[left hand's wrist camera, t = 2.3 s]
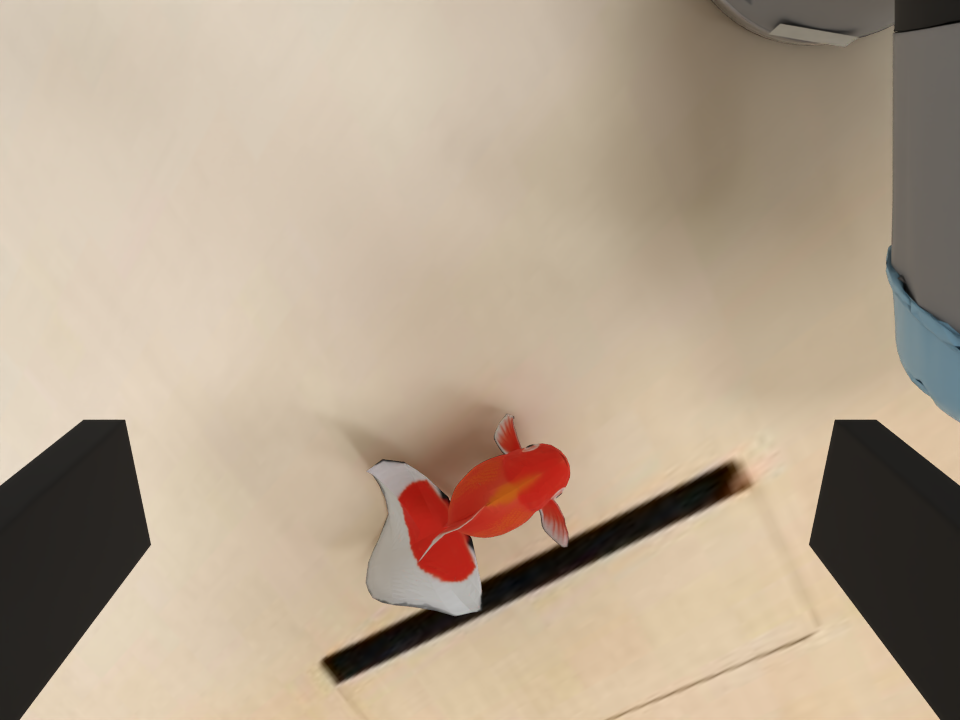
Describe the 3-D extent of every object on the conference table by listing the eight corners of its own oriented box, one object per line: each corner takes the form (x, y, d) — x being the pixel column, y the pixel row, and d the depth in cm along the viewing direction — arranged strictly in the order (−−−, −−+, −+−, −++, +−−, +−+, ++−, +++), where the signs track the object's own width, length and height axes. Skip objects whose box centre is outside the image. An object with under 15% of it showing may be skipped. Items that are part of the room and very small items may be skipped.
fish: (638, 569, 39) (571, 663, 31) (430, 582, 48) (333, 659, 39) (587, 393, 39) (506, 439, 31) (387, 437, 47) (280, 483, 39)
